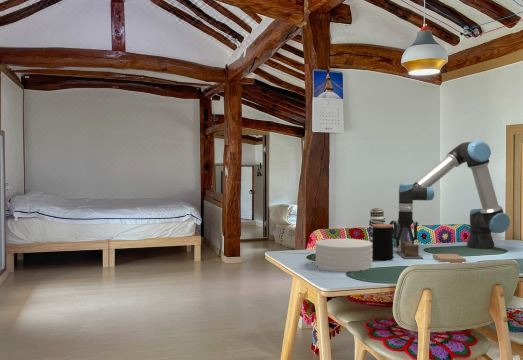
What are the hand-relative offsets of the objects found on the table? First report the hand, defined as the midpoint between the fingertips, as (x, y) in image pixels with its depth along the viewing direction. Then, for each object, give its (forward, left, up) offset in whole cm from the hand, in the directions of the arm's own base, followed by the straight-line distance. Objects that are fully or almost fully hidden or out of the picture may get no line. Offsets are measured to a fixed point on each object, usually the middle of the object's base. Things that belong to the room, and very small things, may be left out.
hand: (404, 251), depth 263 cm
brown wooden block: (-1, +3, 0) cm, 3 cm away
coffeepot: (-3, -23, -1) cm, 23 cm away
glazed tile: (-18, +12, 0) cm, 22 cm away
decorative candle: (+14, -6, -1) cm, 15 cm away
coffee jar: (+15, +15, -1) cm, 21 cm away
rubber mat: (-1, +5, -1) cm, 5 cm away
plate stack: (+38, +32, -1) cm, 50 cm away
